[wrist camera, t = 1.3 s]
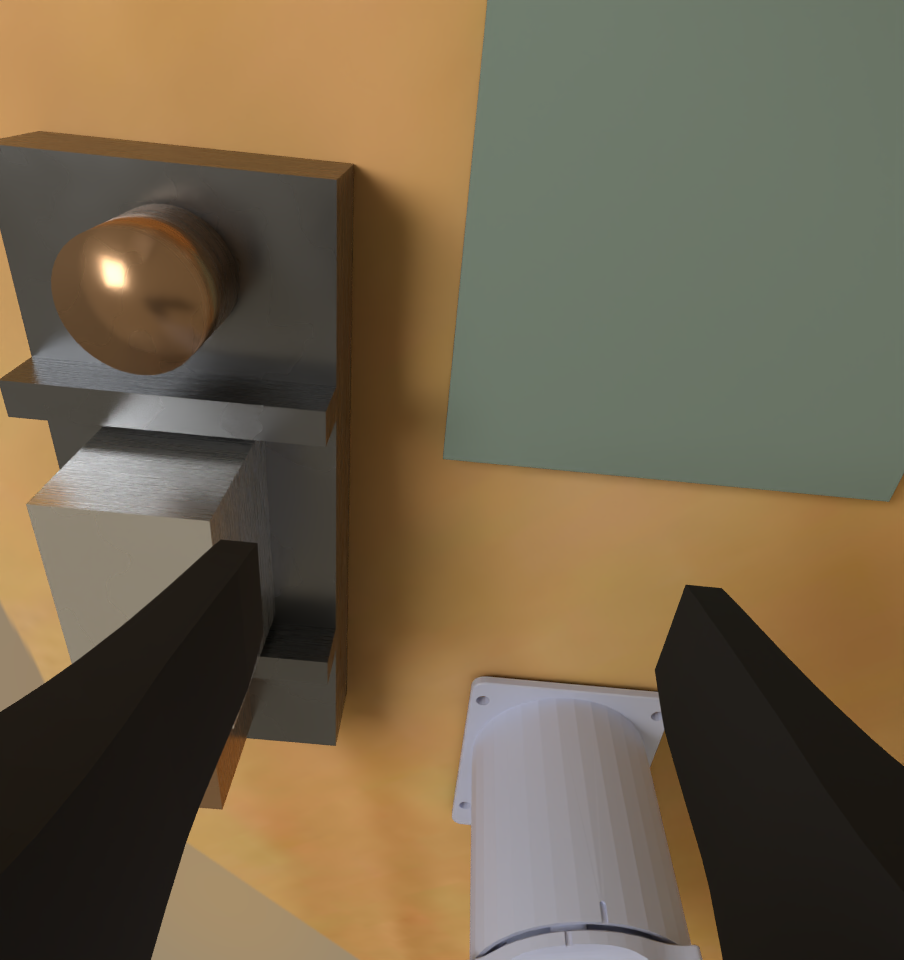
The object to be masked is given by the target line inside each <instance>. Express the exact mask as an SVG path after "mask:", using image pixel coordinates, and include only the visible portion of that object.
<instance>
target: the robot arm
mask: <svg viewBox="0 0 904 960" xmlns="http://www.w3.org/2000/svg"><path fill="white" fill-rule="evenodd" d="M263 633H264V632H263V617H262V602H261V587H260V571H259V556H258V543H253V542H243V541H232V540H222V539H221V540H220V541H218V542H217V543H216V544H214V545H213V546H212V547H211V548H210V549H209V550H208V551H207V552H205V553H204V554H203V555H202V556H201V557H200V558H199V559H198V560H197V561H196V562H194V563H193V564H192V565H191V566H190V567H189V568H188V569H187V570H186V571H185V572H183V573H182V574H181V575H180V576H179V577H178V578H177V579H176V580H175V581H173V582H172V583H171V584H170V585H169V586H168V587H167V588H166V589H164V590H163V591H162V592H161V593H160V594H159V595H157V596H156V597H155V598H154V599H153V600H152V601H150V602H149V603H148V604H147V605H146V606H145V607H143V608H142V609H141V610H140V611H139V612H138V613H136V614H135V615H134V616H133V617H132V618H130V619H129V620H128V621H127V622H126V623H124V624H123V625H122V626H121V627H119V628H118V629H117V630H116V631H114V632H113V633H112V634H110V635H109V636H108V637H107V638H105V639H104V640H103V641H101V642H100V643H99V644H98V645H96V646H95V647H94V648H92V649H91V650H90V651H89V652H87V653H86V654H85V655H83V656H82V657H81V658H79V659H78V660H77V661H75V662H74V663H73V664H71V665H70V666H69V667H67V668H66V669H64V670H63V671H62V672H60V673H59V674H57V675H56V676H55V677H53V678H52V679H50V680H49V681H47V682H46V683H44V684H43V685H41V686H40V687H38V688H37V689H35V690H34V691H32V692H31V693H29V694H28V695H26V696H25V697H23V698H22V699H20V700H19V701H17V702H16V703H14V704H12V705H11V706H9V707H8V708H6V709H4V710H3V711H1V712H0V960H151V957H152V953H153V951H154V947H155V944H156V940H157V936H158V933H159V930H160V927H161V923H162V919H163V916H164V913H165V909H166V906H167V903H168V899H169V896H170V893H171V889H172V886H173V883H174V880H175V876H176V873H177V870H178V867H179V863H180V860H181V857H182V854H183V851H184V847H185V844H186V841H187V838H188V836H189V833H190V830H191V827H192V825H193V822H194V819H195V817H196V814H197V811H198V809H199V806H200V804H201V802H202V799H203V797H204V794H205V792H206V790H207V787H208V785H209V782H210V780H211V778H212V775H213V773H214V770H215V768H216V766H217V763H218V761H219V758H220V756H221V754H222V751H223V749H224V746H225V744H226V742H227V739H228V737H229V734H230V732H231V729H232V727H233V725H234V722H235V720H236V717H237V715H238V712H239V710H240V707H241V705H242V703H243V700H244V698H245V695H246V693H247V690H248V687H249V684H250V681H251V677H252V674H253V670H254V667H255V663H256V659H257V656H258V652H259V648H260V644H261V641H262V637H263ZM655 674H656V681H657V688H658V692H654V691H643V690H632V689H621V688H609V687H598V686H587V685H576V684H565V683H554V682H543V681H531V680H520V679H509V678H498V677H487V676H483V677H478V678H476V679H475V680H474V681H473V682H472V685H471V692H470V698H469V705H468V711H467V718H466V724H465V731H464V737H463V744H462V750H461V757H460V763H459V770H458V776H457V783H456V789H455V796H454V802H453V808H452V819H453V820H454V821H455V822H457V823H459V824H467V825H471V889H470V960H702V956H701V952H700V948H699V947H698V946H697V945H691V941H690V937H689V933H688V929H687V924H686V920H685V916H684V912H683V907H682V903H681V899H680V895H679V890H678V886H677V882H676V878H675V873H674V869H673V865H672V861H671V856H670V852H669V848H668V844H667V839H666V835H665V831H664V827H663V822H662V818H661V814H660V810H659V805H658V801H657V797H656V793H655V788H654V784H653V780H652V776H651V771H650V766H651V763H652V761H653V758H654V756H655V753H656V750H657V748H658V745H659V743H660V740H661V738H662V735H663V733H664V730H665V733H666V737H667V740H668V744H669V747H670V751H671V754H672V758H673V761H674V765H675V768H676V772H677V775H678V779H679V782H680V785H681V789H682V792H683V796H684V799H685V802H686V806H687V809H688V813H689V816H690V819H691V823H692V826H693V830H694V833H695V836H696V840H697V843H698V847H699V850H700V853H701V857H702V861H703V865H704V869H705V873H706V877H707V881H708V885H709V889H710V894H711V899H712V905H713V910H714V915H715V920H716V926H717V931H718V936H719V941H720V946H721V952H722V957H723V960H904V766H903V765H902V764H900V763H899V762H898V761H897V760H895V759H894V758H893V757H892V756H891V755H890V754H888V753H887V752H886V751H885V750H884V749H883V748H882V747H880V746H879V745H878V744H877V743H876V742H875V741H874V740H872V739H871V738H870V737H869V736H868V735H867V734H866V733H865V732H864V731H863V730H862V729H861V728H859V727H858V726H857V725H856V724H855V723H854V722H853V721H852V720H851V719H850V718H849V717H848V716H846V715H845V714H844V713H843V712H842V711H841V710H840V709H839V708H838V707H837V706H836V705H835V704H834V703H833V702H832V701H831V700H830V699H829V698H828V697H827V696H826V695H824V694H823V693H822V692H821V691H820V690H819V689H818V688H817V687H816V686H815V685H814V684H813V683H812V682H811V681H810V680H809V679H808V678H807V677H806V676H805V675H804V674H803V673H802V671H801V670H800V669H799V668H798V667H797V666H796V665H795V664H794V663H793V662H792V661H791V660H790V659H789V658H788V657H787V656H786V655H785V654H784V653H783V652H782V651H781V650H780V649H779V648H778V647H777V646H776V644H775V643H774V642H773V641H772V640H771V639H770V638H769V637H768V636H767V635H766V634H765V633H764V632H763V631H762V630H761V629H760V628H759V626H758V625H757V624H756V623H755V622H754V621H753V620H752V619H751V618H750V617H749V616H748V615H747V614H746V613H745V612H744V611H743V609H742V608H741V607H740V606H739V605H738V604H737V603H736V602H735V601H734V600H733V599H732V598H731V597H730V596H729V595H728V594H727V593H726V592H725V591H724V590H723V589H722V588H714V587H703V586H693V585H686V586H685V588H684V591H683V594H682V597H681V599H680V602H679V605H678V608H677V610H676V613H675V616H674V619H673V621H672V624H671V627H670V630H669V633H668V635H667V638H666V641H665V644H664V646H663V649H662V652H661V655H660V657H659V660H658V663H657V666H656V668H655ZM480 696H485V697H480Z"/></svg>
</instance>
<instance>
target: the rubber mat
mask: <svg viewBox="0 0 904 960" xmlns="http://www.w3.org/2000/svg"><path fill="white" fill-rule="evenodd" d="M443 459H449V460H459V461H470V462H480V463H490V464H501V465H511V466H522V467H532V468H543V469H553V470H564V471H574V472H584V473H595V474H605V475H616V476H626V477H637V478H647V479H658V480H668V481H678V482H689V483H699V484H710V485H720V486H731V487H741V488H751V489H762V490H772V491H783V492H793V493H804V494H814V495H825V496H835V497H845V498H856V499H866V500H877V501H887V502H889V501H890V499H891V497H892V495H893V493H894V491H895V489H896V487H897V485H898V483H899V481H900V480H901V478H902V476H903V474H904V0H487V11H486V21H485V31H484V41H483V52H482V62H481V72H480V82H479V93H478V103H477V113H476V124H475V134H474V144H473V154H472V165H471V175H470V185H469V195H468V206H467V216H466V226H465V237H464V247H463V257H462V267H461V278H460V288H459V298H458V309H457V319H456V329H455V339H454V350H453V360H452V370H451V380H450V391H449V401H448V411H447V422H446V432H445V442H444V453H443Z"/></svg>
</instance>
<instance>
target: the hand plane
mask: <svg viewBox="0 0 904 960" xmlns="http://www.w3.org/2000/svg"><path fill="white" fill-rule="evenodd" d="M353 188H354V164H351V163H341V162H332V161H322V160H312V159H303V158H293V157H283V156H274V155H264V154H255V153H245V152H235V151H226V150H216V149H206V148H197V147H187V146H178V145H168V144H158V143H149V142H139V141H129V140H120V139H110V138H100V137H91V136H81V135H72V134H62V133H52V132H43V131H37V132H32V133H27V134H22V135H17V136H12V137H6V138H1V139H0V230H1V234H2V238H3V242H4V246H5V250H6V254H7V258H8V262H9V266H10V270H11V274H12V279H13V283H14V287H15V291H16V295H17V299H18V303H19V307H20V311H21V315H22V319H23V323H24V327H25V331H26V335H27V339H28V343H29V347H30V351H31V355H32V357H31V358H30V359H28V360H27V361H25V362H24V363H22V364H21V365H19V366H18V367H17V368H15V369H14V370H12V371H11V372H9V373H8V374H6V375H5V376H4V377H2V378H1V379H0V388H1V392H2V395H3V399H4V403H5V406H6V410H7V413H8V417H17V418H27V419H38V420H48V424H49V428H50V432H51V436H52V440H53V444H54V448H55V452H56V456H57V460H58V464H59V468H60V469H61V468H62V467H63V466H64V465H65V464H66V463H67V462H68V461H69V460H70V459H71V458H72V457H73V456H74V455H75V454H76V453H77V452H78V451H79V450H80V449H81V448H82V447H83V446H84V445H85V444H86V443H87V442H88V441H89V440H90V439H91V438H92V437H93V436H94V435H95V434H96V433H97V432H98V431H99V430H100V429H101V428H102V427H103V426H111V427H121V428H132V429H142V430H152V431H163V432H173V433H184V434H194V435H205V436H215V437H225V438H236V439H246V440H257V441H265V457H266V473H267V490H268V506H269V522H270V539H271V555H272V571H273V588H274V604H275V616H274V619H273V622H272V624H271V627H270V630H269V633H268V635H267V638H266V641H265V644H264V647H263V649H262V652H261V655H260V658H259V660H258V663H257V666H256V669H255V672H254V674H253V677H252V680H251V683H250V685H249V688H248V691H247V694H246V697H245V699H244V702H243V705H242V708H241V710H240V713H239V716H238V719H237V721H236V724H235V727H234V729H233V728H232V729H231V732H230V734H229V737H228V739H227V742H226V744H225V746H224V749H223V751H222V754H221V756H220V758H219V761H218V763H217V766H216V768H215V770H214V773H213V775H212V778H211V780H210V782H209V785H208V787H207V790H206V792H205V794H204V797H203V799H202V802H201V804H200V806H199V808H211V809H223V806H224V803H225V800H226V797H227V794H228V791H229V788H230V785H231V783H232V780H233V777H234V774H235V771H236V768H237V765H238V762H239V759H240V756H241V753H242V750H243V747H244V744H245V741H246V738H252V739H264V740H275V741H287V742H298V743H310V744H321V745H333V746H336V742H337V737H338V732H339V727H340V722H341V718H342V713H343V708H344V703H345V698H346V689H347V618H348V546H349V475H350V403H351V331H352V260H353Z"/></svg>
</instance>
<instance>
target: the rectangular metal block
mask: <svg viewBox="0 0 904 960" xmlns="http://www.w3.org/2000/svg"><path fill="white" fill-rule="evenodd" d="M26 505H27V509H28V512H29V516H30V519H31V523H32V526H33V530H34V533H35V537H36V540H37V544H38V547H39V551H40V554H41V558H42V561H43V565H44V568H45V572H46V575H47V578H48V582H49V585H50V589H51V592H52V596H53V599H54V603H55V606H56V610H57V613H58V617H59V620H60V624H61V627H62V631H63V634H64V638H65V641H66V645H67V648H68V652H69V655H70V659H71V662H72V664H73V663H74V662H75V661H77V660H78V659H79V658H81V657H82V656H83V655H85V654H86V653H87V652H89V651H90V650H91V649H92V648H94V647H95V646H96V645H98V644H99V643H100V642H101V641H103V640H104V639H105V638H107V637H108V636H109V635H110V634H112V633H113V632H114V631H116V630H117V629H118V628H119V627H121V626H122V625H123V624H124V623H126V622H127V621H128V620H129V619H130V618H132V617H133V616H134V615H135V614H136V613H138V612H139V611H140V610H141V609H142V608H143V607H145V606H146V605H147V604H148V603H149V602H150V601H152V600H153V599H154V598H155V597H156V596H157V595H159V594H160V593H161V592H162V591H163V590H164V589H166V588H167V587H168V586H169V585H170V584H171V583H172V582H173V581H175V580H176V579H177V578H178V577H179V576H180V575H181V574H182V573H183V572H185V571H186V570H187V569H188V568H189V567H190V566H191V565H192V564H193V563H194V562H196V561H197V560H198V559H199V558H200V557H201V556H202V555H203V554H204V553H205V552H207V551H208V550H209V549H210V548H211V547H212V546H213V545H214V544H216V543H217V542H218V541H220V540H221V539H222V540H232V541H243V542H253V543H258V556H259V571H260V587H261V602H262V617H263V632H264V633H263V637H262V641H261V644H260V648H259V652H258V656H257V659H256V663H255V667H254V670H253V674H254V672H255V669H256V666H257V663H258V660H259V658H260V655H261V652H262V649H263V647H264V644H265V641H266V638H267V635H268V633H269V630H270V627H271V624H272V622H273V619H274V616H275V604H274V588H273V571H272V555H271V539H270V522H269V506H268V490H267V473H266V457H265V441H257V440H246V439H236V438H225V437H215V436H205V435H194V434H184V433H173V432H163V431H152V430H142V429H132V428H121V427H111V426H103V427H102V428H101V429H100V430H99V431H98V432H97V433H96V434H95V435H94V436H93V437H92V438H91V439H90V440H89V441H88V442H87V443H86V444H85V445H84V446H83V447H82V448H81V449H80V450H79V451H78V452H77V453H76V454H75V455H74V456H73V457H72V458H71V459H70V460H69V461H68V462H67V463H66V464H65V465H64V466H63V467H62V468H61V469H60V470H59V471H58V472H57V473H56V474H55V475H54V476H53V477H52V478H51V479H50V480H49V481H48V482H47V483H46V484H45V485H44V487H43V488H42V489H41V490H40V491H39V492H38V493H37V494H36V495H35V496H34V497H33V498H32V499H31V500H30V501H29V502H28V503H27V504H26ZM253 674H252V677H253ZM252 677H251V680H252ZM250 683H251V681H250ZM249 685H250V684H249ZM248 688H249V687H248ZM247 691H248V690H247ZM246 694H247V693H246ZM245 697H246V695H245ZM244 699H245V698H244ZM243 702H244V700H243ZM242 705H243V703H242ZM242 705H241V707H240V710H241V708H242ZM240 710H239V712H238V715H237V717H236V720H235V722H234V725H233V727H232V728H233V729H234V727H235V724H236V721H237V719H238V716H239V713H240Z"/></svg>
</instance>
